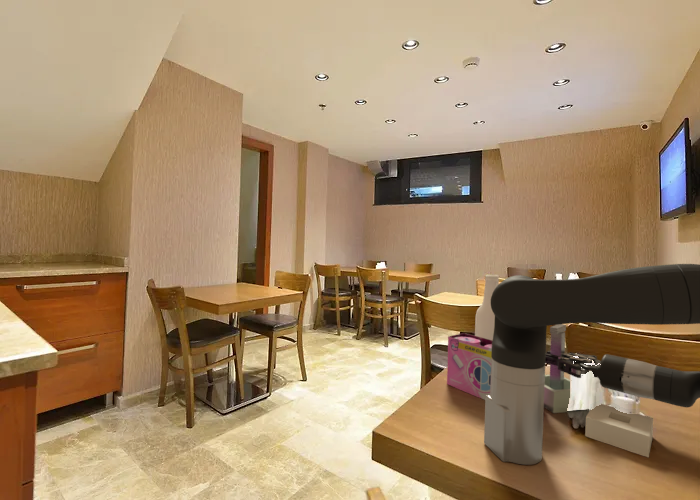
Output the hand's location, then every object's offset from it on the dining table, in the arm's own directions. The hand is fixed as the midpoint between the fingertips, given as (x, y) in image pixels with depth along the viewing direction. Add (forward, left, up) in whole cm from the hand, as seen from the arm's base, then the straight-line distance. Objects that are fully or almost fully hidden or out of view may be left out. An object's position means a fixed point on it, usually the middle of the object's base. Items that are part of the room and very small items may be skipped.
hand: (544, 356), depth 90 cm
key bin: (+1, -3, -11) cm, 11 cm away
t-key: (+2, -3, -10) cm, 10 cm away
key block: (+2, -19, -11) cm, 22 cm away
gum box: (-13, +3, -11) cm, 17 cm away
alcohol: (-4, +18, -11) cm, 22 cm away
